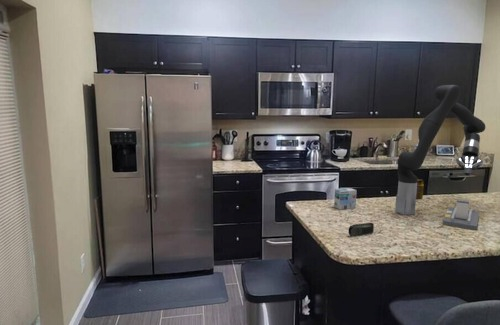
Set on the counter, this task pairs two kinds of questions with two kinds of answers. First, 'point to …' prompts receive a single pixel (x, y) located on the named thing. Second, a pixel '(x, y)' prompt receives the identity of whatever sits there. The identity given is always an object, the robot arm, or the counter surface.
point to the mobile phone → (361, 229)
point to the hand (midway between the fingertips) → (467, 174)
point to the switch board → (462, 223)
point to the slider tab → (462, 208)
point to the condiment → (419, 190)
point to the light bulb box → (345, 198)
